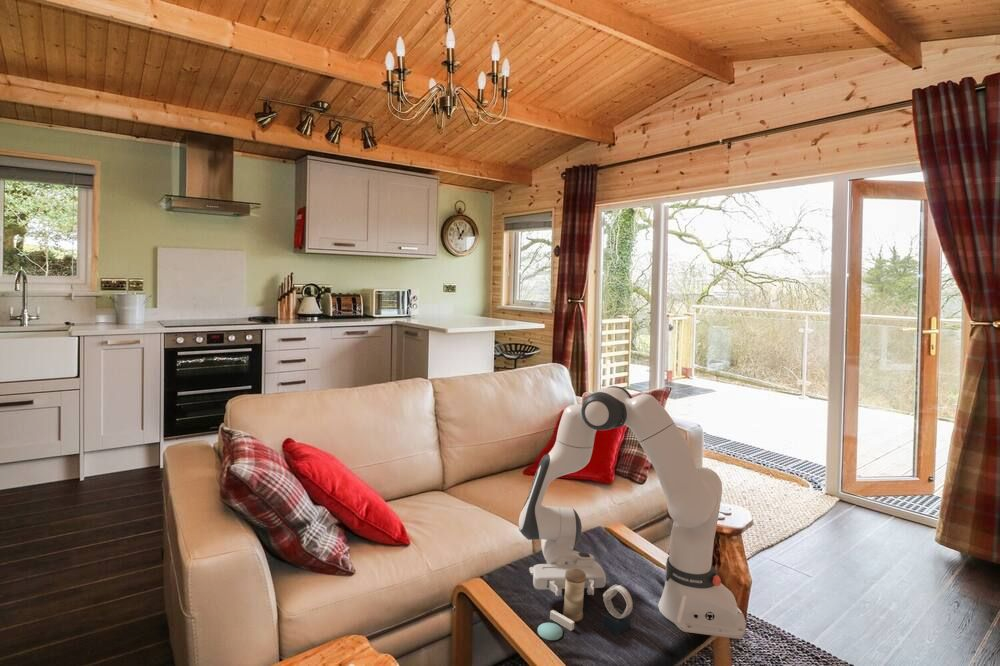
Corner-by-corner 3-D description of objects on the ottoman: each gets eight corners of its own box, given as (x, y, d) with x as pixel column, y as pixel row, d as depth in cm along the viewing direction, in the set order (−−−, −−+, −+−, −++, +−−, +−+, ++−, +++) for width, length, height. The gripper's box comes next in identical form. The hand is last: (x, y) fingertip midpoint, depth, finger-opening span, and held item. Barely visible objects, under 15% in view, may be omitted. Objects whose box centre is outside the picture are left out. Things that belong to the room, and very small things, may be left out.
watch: (611, 614, 154) (613, 576, 152) (635, 630, 148) (638, 591, 146) (597, 622, 150) (599, 583, 149) (621, 638, 144) (624, 598, 143)
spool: (584, 612, 154) (587, 571, 153) (580, 624, 149) (583, 581, 148) (565, 607, 156) (567, 566, 154) (560, 619, 151) (563, 576, 149)
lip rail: (549, 618, 151) (550, 611, 151) (552, 616, 152) (552, 609, 152) (571, 631, 146) (571, 623, 146) (573, 628, 147) (574, 621, 147)
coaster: (565, 627, 147) (565, 626, 147) (559, 643, 141) (559, 641, 141) (541, 621, 149) (541, 620, 149) (534, 636, 143) (534, 635, 143)
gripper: (528, 555, 163) (537, 583, 149) (597, 554, 165) (612, 581, 152) (527, 576, 164) (536, 605, 150) (596, 574, 166) (611, 603, 152)
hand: (575, 593), depth 151 cm, fingers open, 7 cm apart
